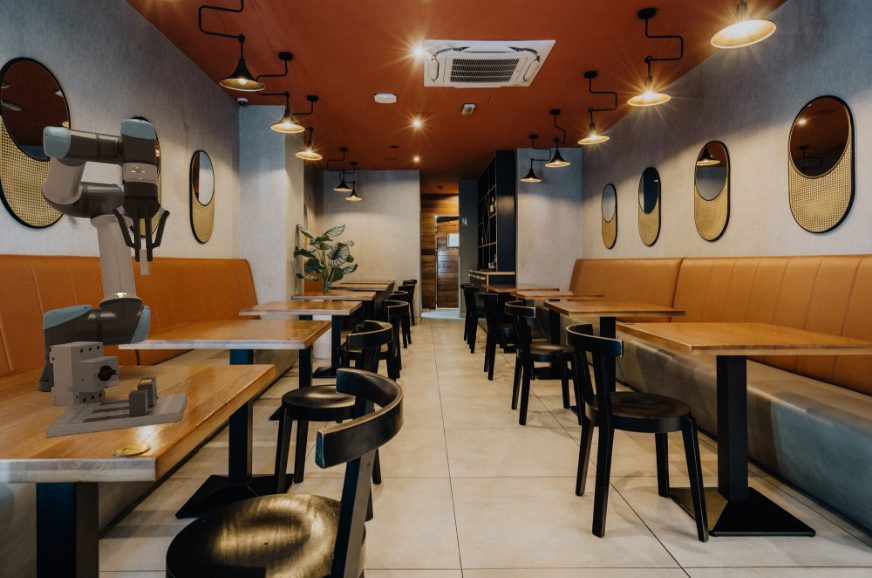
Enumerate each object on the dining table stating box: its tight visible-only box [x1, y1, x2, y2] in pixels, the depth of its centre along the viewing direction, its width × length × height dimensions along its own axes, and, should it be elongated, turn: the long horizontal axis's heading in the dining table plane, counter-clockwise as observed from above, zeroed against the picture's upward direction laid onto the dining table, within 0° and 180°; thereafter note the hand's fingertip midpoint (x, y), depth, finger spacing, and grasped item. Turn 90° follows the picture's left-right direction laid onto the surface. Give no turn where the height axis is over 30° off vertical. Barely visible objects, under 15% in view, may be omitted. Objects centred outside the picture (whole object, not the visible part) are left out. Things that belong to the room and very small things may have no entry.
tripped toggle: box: [136, 380, 156, 406], centre depth 112 cm, size 4×3×5 cm
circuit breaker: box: [50, 342, 120, 407], centre depth 123 cm, size 8×14×15 cm, turn 78°
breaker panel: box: [45, 376, 188, 438], centre depth 110 cm, size 18×24×7 cm
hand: (144, 274), depth 125 cm, fingers closed
